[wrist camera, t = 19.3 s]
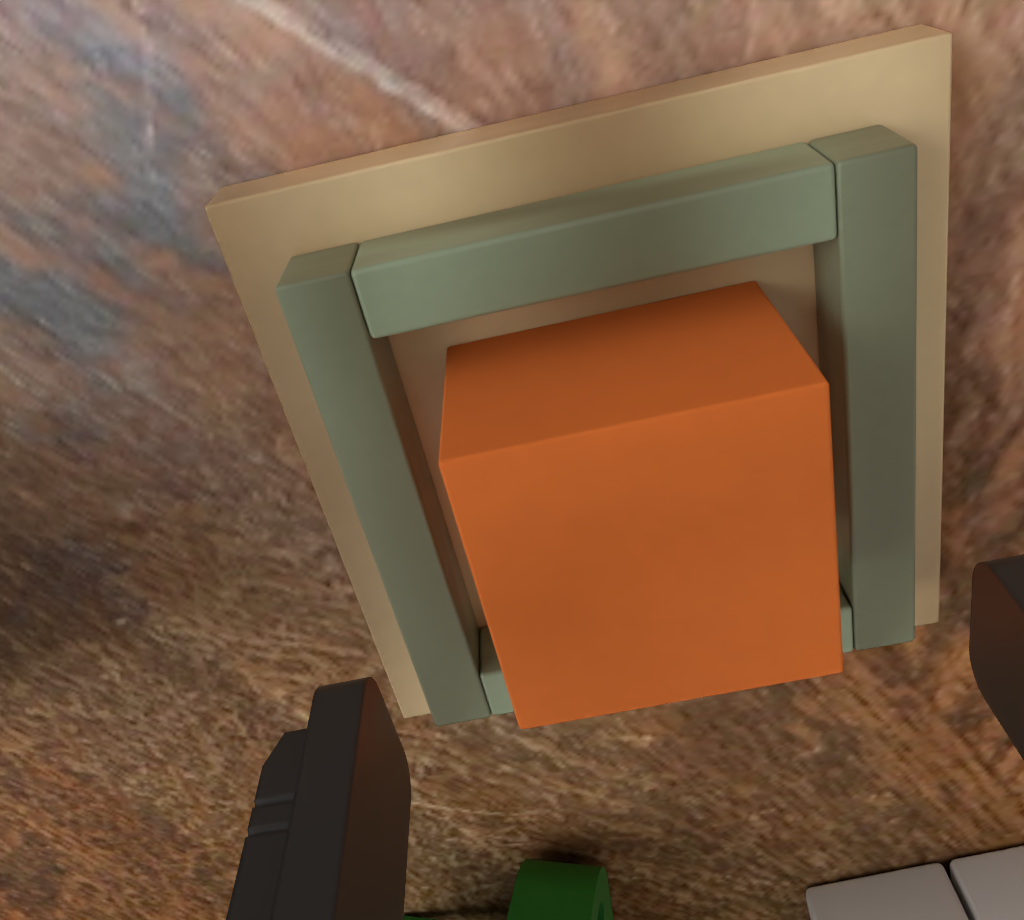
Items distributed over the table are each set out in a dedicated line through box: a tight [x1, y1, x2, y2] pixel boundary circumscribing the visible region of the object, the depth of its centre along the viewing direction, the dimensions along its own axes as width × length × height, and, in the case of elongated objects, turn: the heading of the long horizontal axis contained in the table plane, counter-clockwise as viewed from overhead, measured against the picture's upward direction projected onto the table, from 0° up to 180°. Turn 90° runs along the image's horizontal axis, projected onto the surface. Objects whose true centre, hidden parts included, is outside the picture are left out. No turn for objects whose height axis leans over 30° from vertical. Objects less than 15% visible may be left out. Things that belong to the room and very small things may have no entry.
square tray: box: [205, 24, 952, 726], centre depth 18 cm, size 12×12×3 cm
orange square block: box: [438, 281, 843, 729], centre depth 16 cm, size 6×6×4 cm
